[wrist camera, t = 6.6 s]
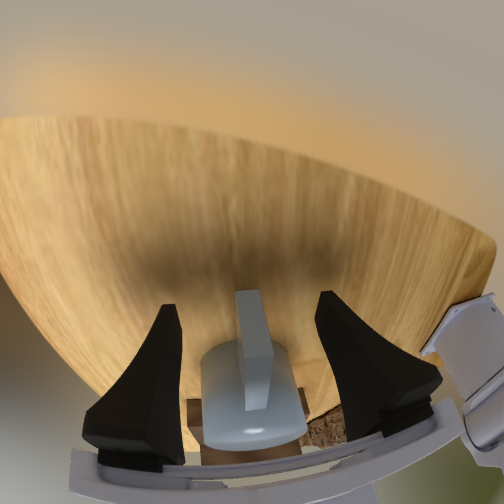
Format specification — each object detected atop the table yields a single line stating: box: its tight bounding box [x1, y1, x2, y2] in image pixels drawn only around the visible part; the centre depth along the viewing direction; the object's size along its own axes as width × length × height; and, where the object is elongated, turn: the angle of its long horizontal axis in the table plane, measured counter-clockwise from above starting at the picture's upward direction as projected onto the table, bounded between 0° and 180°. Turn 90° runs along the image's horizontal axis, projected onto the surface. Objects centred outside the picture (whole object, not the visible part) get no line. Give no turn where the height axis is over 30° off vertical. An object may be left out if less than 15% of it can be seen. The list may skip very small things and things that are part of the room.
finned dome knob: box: [200, 289, 308, 451], centre depth 16 cm, size 7×13×6 cm, turn 179°
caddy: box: [187, 388, 310, 466], centre depth 23 cm, size 12×9×7 cm
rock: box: [298, 405, 347, 449], centre depth 31 cm, size 15×10×6 cm
